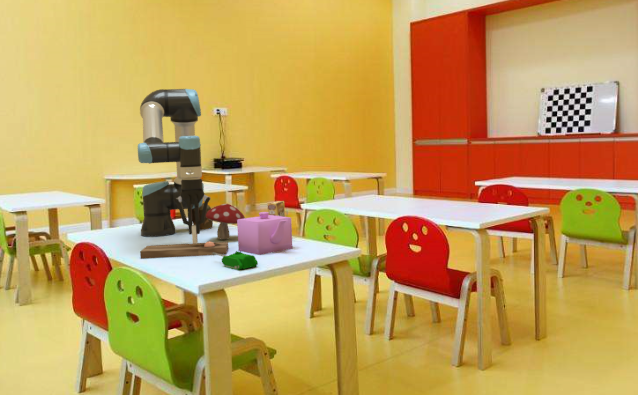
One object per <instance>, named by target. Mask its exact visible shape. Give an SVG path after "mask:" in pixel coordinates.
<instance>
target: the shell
mask: <svg viewBox="0 0 638 395" xmlns="http://www.w3.org/2000/svg"><path fill="white" fill-rule="evenodd" d="M203 206H204V202H202V206H201V207H199V220H201V216H202V211H203ZM210 209H212V207H211V206H210V205H209V204H208V206H207V211H206V214H207V212H208V211H209V210H210ZM192 223H193V224H192V225H195V224H196V222H195V208H193V209H192ZM213 223H214V221H212V220H209V219H208V218H207V217H206V216H205V221H204V223H202V224H200V230H209V228H210V229H212V228H213V225H214V224H213Z"/></svg>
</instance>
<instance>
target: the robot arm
mask: <svg viewBox="0 0 638 395" xmlns="http://www.w3.org/2000/svg"><path fill="white" fill-rule="evenodd" d="M201 110H202V109H201V104H200V99H199V94H198V91H196V89H191V88H190V89H189V88H172V89H171V88H170V89H169V88H167V89H165V88H161V89H156V90H153V91H152V92H150V93H149V94H148V95H146V97H145V98H143V100H142V102H141V104H140V107H139V114H140V117H141V118H142V142H140V143H138V144H137V158H138V159H137V160H138V162H139V163H140V164H159V163H160V164H161V163H162V164H163V163H176V177H175V178H174V179H173V183H170V182H169V181H168V180H164V181H158V182H151V183H149V184H148V183H147V184H146V185H143V187H142V194H141V196H142V204H143V205H142V206H143V221H142V224H141V229H140V235H141V236H142V237H161V236H163V237H164V236H170V235H174V234H176V231H177V229H176V226H175V223H174V221H173V219H172V218H173V217H172V216H171V214H172V213H171V211H173V210H174V211H175V210H179V213H180V217H181V220H182V223H183V224H184V225H186V226H188V234H189V235H191V237H192V238H191V240H192V243H193V244H196V243H199V242H198V235H199V234H200V233H201V229H200V224H202V223H204V221H205V216H206V211H207V206H208V205H209V203H210V200H211V196H208V195H206V194H205V189H204V188H205V186H204V182H203V178H202V177H203V170H202V155H201V154H202V153H201V152H202V150H201V145H202V144H201V138H200V136H198V135H196V127H195V125H196V123H197V122H198V121H199V118H200V117H201V116H202V111H201ZM165 117H166V118H170V122H171V123H172V124H173V126H174V141H168V142H167V141H165V142H164V128H163V118H165ZM202 203H204V206H203V211H202V216H201V220H199V207H201V206H202ZM193 208H195V222H196V224H195V225H193V222H192V209H193ZM185 210H187V216H186V212H185Z"/></svg>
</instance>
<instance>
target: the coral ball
mask: <svg viewBox="0 0 638 395" xmlns="http://www.w3.org/2000/svg"><path fill="white" fill-rule="evenodd" d="M204 243H205V245H204V247H211V246H215V244H214V243H213V241H210V240H209V241H206V242H204Z"/></svg>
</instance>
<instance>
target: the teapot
mask: <svg viewBox="0 0 638 395" xmlns="http://www.w3.org/2000/svg"><path fill="white" fill-rule="evenodd" d="M258 214H259V215H258V216H254V217H252V216H251V217H246V218H244V219H238V220H237V224H236V225H237V226H236V227H237V241H238V242H237V243H238V244H237V246H238V252H240V251H241V252H242V253H243V252H244V253H249V254H251V255H252V254H253V255H257V256H261V255H265V254H271V252H272V253H278V252H281V251H287V250H286V249H288V250H292V249H293V229H292V228H293V227H292V217H289V216H285V217H282V216H274V215H269V212H268V211H261V212H258Z"/></svg>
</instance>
